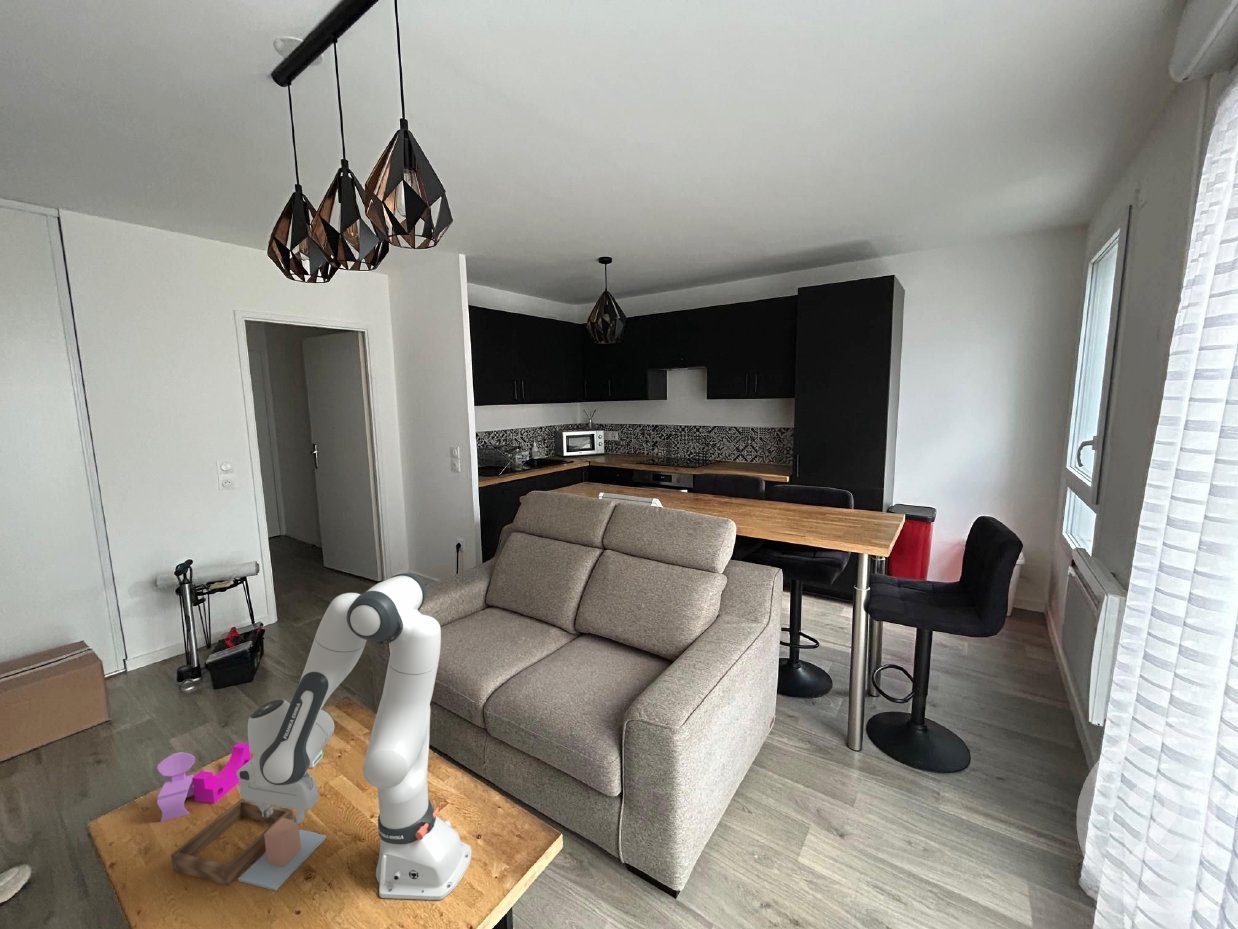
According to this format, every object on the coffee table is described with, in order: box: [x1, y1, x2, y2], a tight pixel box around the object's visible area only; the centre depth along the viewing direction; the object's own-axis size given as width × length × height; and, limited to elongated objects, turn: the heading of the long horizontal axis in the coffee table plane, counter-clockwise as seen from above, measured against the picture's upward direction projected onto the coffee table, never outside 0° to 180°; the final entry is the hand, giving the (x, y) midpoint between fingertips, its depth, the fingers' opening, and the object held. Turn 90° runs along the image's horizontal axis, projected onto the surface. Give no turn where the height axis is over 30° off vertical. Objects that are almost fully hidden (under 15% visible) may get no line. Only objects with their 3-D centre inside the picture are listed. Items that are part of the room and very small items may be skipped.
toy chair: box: [156, 751, 196, 823], centre depth 142 cm, size 8×9×15 cm
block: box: [264, 818, 301, 867], centre depth 126 cm, size 5×5×8 cm
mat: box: [237, 828, 327, 892], centre depth 127 cm, size 11×15×1 cm
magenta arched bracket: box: [192, 742, 252, 804], centre depth 152 cm, size 15×6×8 cm, turn 172°
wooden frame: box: [170, 798, 294, 887], centre depth 130 cm, size 17×18×4 cm
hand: (283, 818), depth 125 cm, fingers open, 8 cm apart
